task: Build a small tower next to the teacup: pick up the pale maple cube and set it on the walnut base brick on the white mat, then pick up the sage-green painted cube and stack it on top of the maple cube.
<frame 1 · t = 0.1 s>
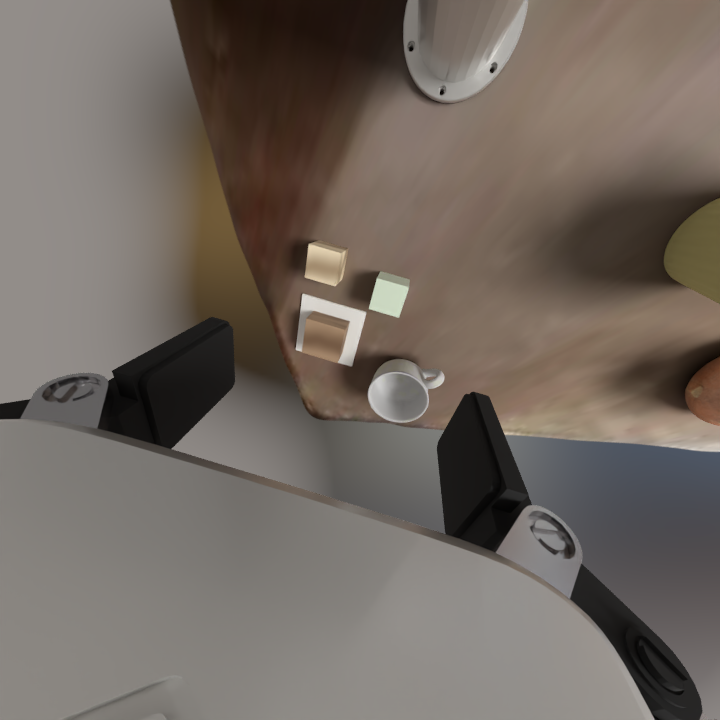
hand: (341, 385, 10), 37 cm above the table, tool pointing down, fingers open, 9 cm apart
sage block: (390, 289, 45), on the table
walnut base brick: (328, 332, 50), resting on white mat
potted cactus: (716, 240, 34), on the table
maple block: (331, 260, 44), on the table
white mat: (329, 331, 51), on the table
teacup: (407, 372, 53), on the table
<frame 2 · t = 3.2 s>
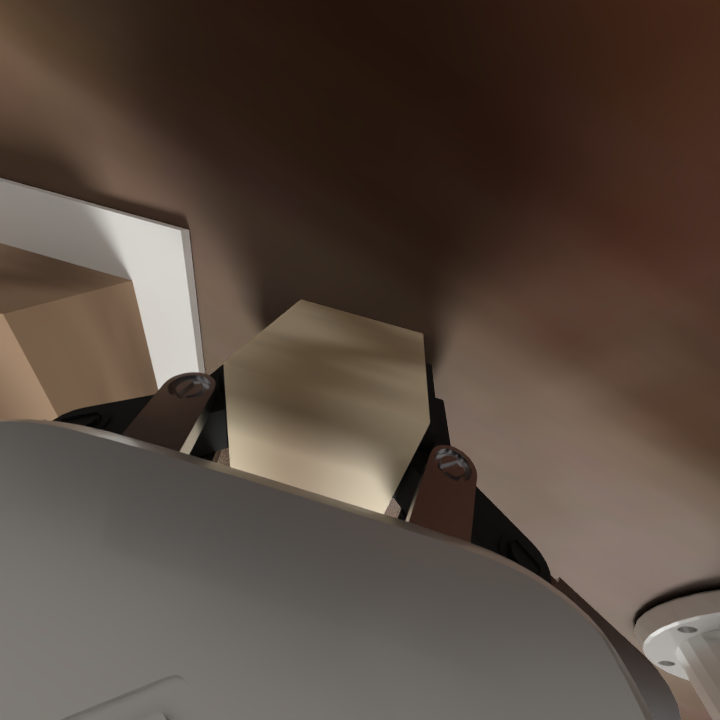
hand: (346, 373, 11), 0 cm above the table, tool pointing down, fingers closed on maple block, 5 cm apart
walnut base brick: (82, 332, 13), resting on white mat
maple block: (349, 367, 12), on the table, touching gripper
white mat: (90, 329, 13), on the table
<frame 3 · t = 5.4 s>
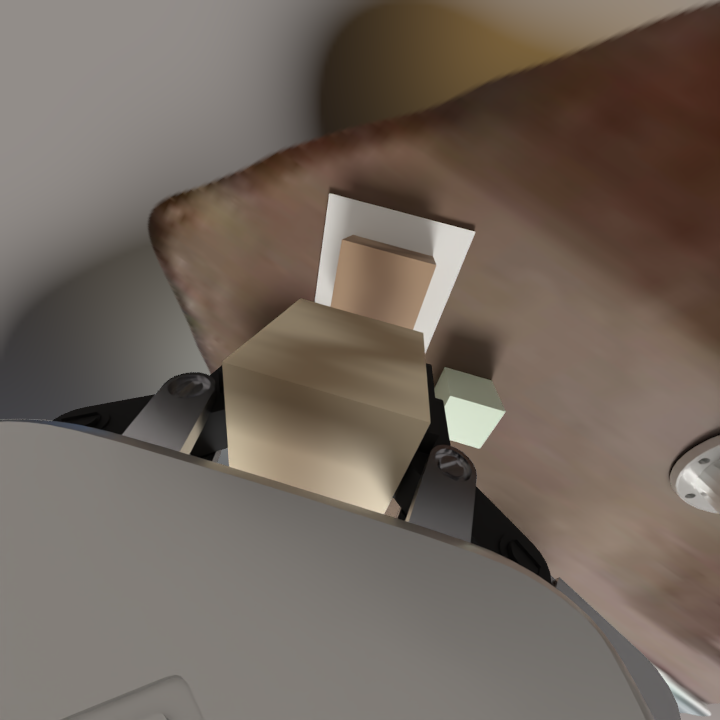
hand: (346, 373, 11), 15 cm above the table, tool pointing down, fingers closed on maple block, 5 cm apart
sage block: (457, 391, 29), on the table
walnut base brick: (381, 285, 24), resting on white mat
maple block: (348, 367, 12), point 15 cm above the table, touching gripper
white mat: (382, 284, 24), on the table
when the fingers open (6 cm above the table, at t = 7.5 s): maple block stays where it is, resting on walnut base brick.
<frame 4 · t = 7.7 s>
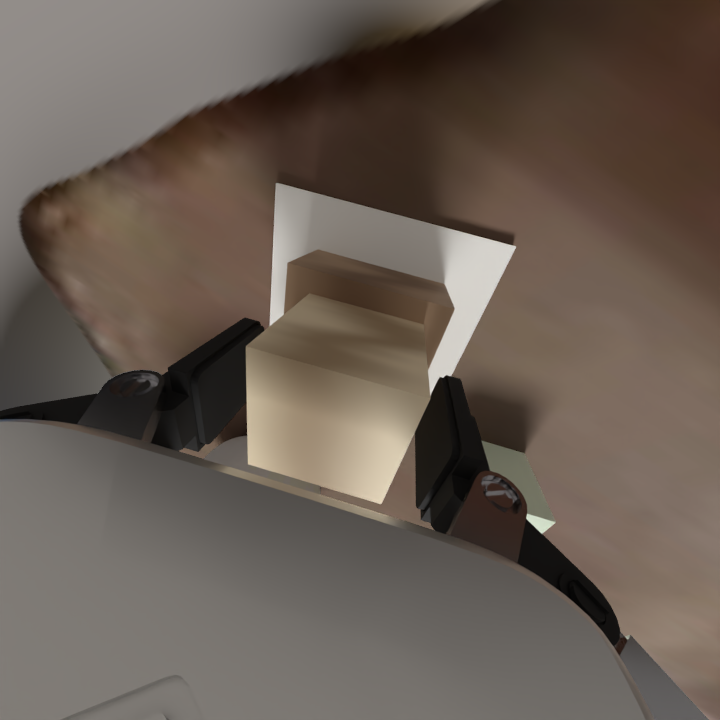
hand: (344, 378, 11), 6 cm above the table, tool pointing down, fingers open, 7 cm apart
sage block: (475, 463, 21), on the table
walnut base brick: (365, 325, 16), resting on white mat, touching maple block
maple block: (354, 358, 12), point 4 cm above the table, touching walnut base brick
white mat: (366, 322, 16), on the table
teacup: (286, 468, 25), on the table
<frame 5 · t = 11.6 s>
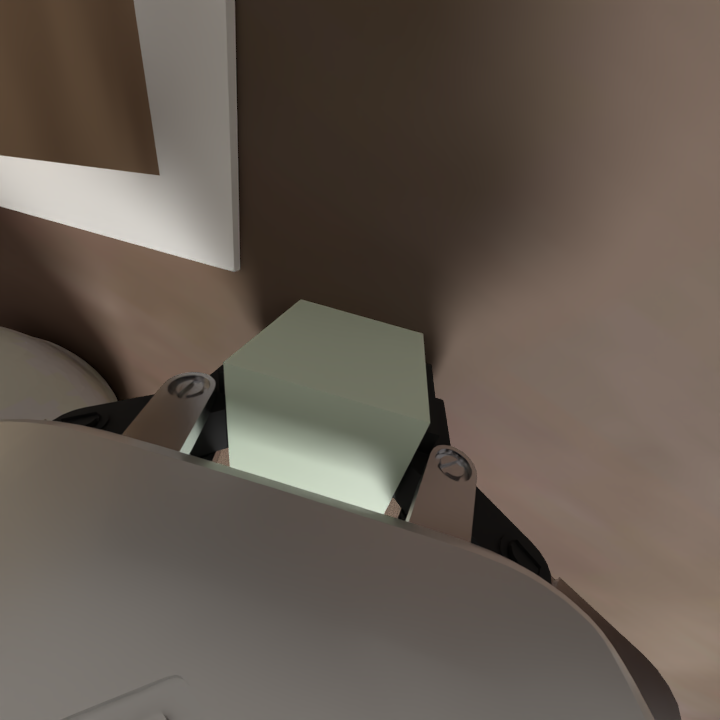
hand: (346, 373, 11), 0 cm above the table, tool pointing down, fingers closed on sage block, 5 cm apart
sage block: (348, 367, 12), on the table, touching gripper
teacup: (95, 402, 17), on the table
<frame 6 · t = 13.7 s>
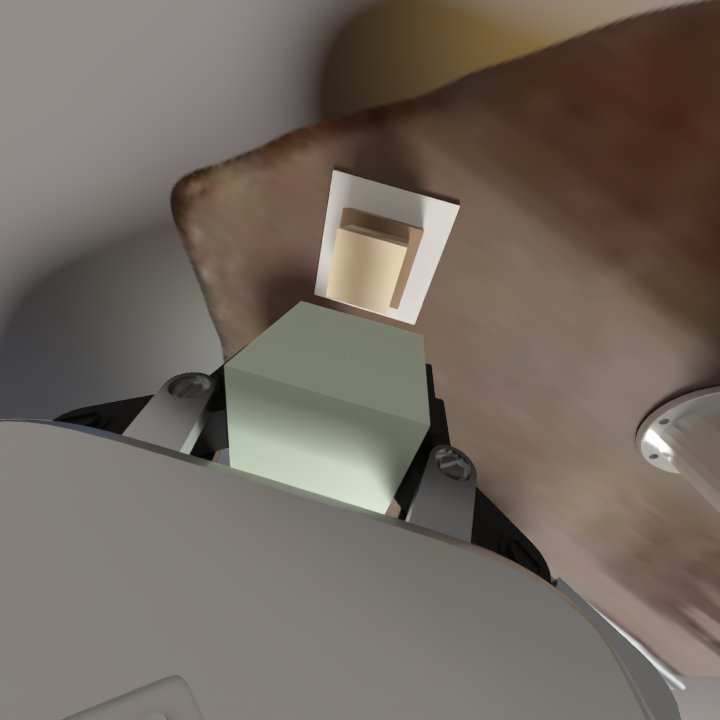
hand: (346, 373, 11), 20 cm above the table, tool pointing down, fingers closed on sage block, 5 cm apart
sage block: (349, 369, 12), point 19 cm above the table, touching gripper
walnut base brick: (378, 255, 27), resting on white mat, touching maple block
maple block: (373, 262, 24), point 4 cm above the table, touching walnut base brick
white mat: (378, 255, 27), on the table
when the fingers open (11 cm above the table, at t = 15.9 s): sage block stays where it is, resting on maple block.
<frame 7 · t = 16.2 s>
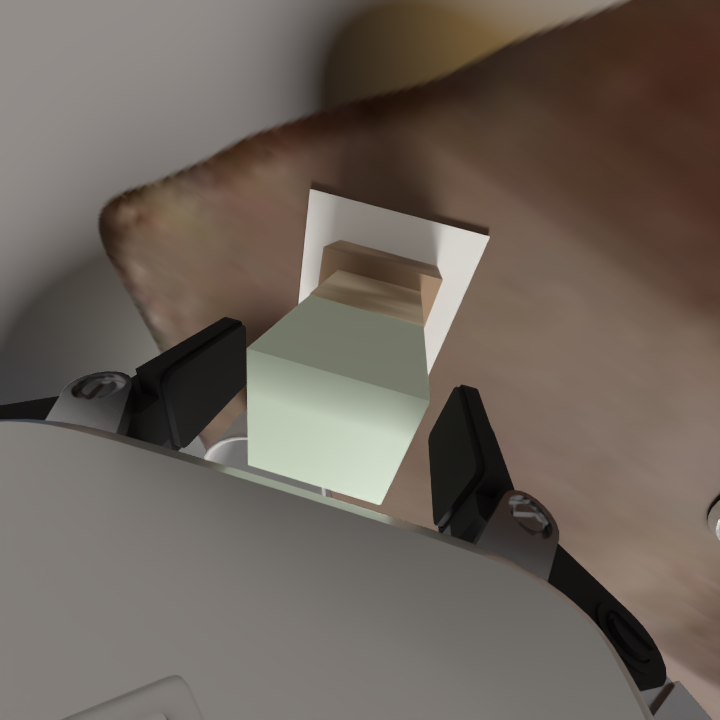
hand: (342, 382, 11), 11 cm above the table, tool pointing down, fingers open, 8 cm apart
sage block: (354, 359, 12), point 9 cm above the table, touching maple block
walnut base brick: (375, 300, 20), resting on white mat, touching maple block
maple block: (369, 319, 17), point 4 cm above the table, touching sage block, walnut base brick
white mat: (376, 298, 20), on the table
teacup: (304, 431, 30), on the table
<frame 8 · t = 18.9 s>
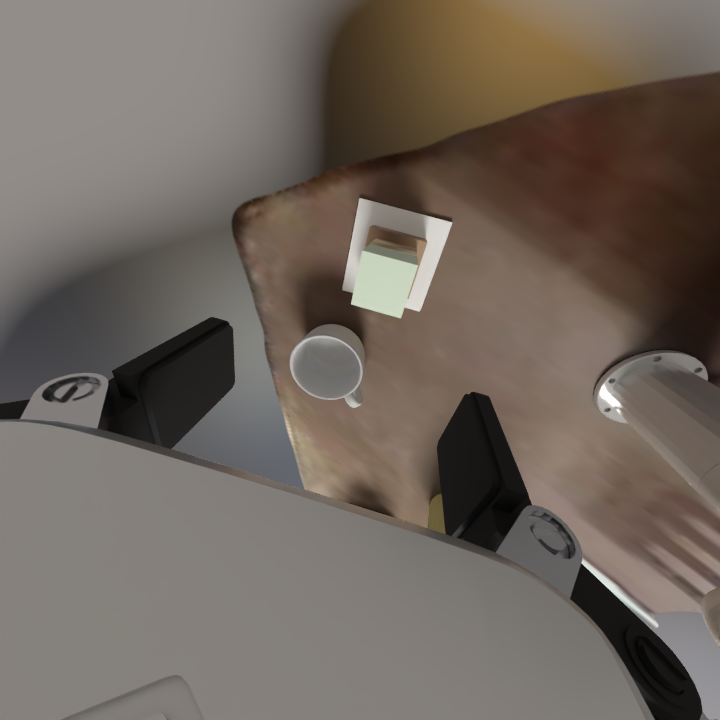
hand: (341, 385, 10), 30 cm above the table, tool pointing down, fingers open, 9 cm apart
sage block: (387, 274, 28), point 9 cm above the table, touching maple block
walnut base brick: (392, 259, 36), resting on white mat, touching maple block
potted cactus: (455, 505, 61), on the table
maple block: (390, 264, 33), point 4 cm above the table, touching sage block, walnut base brick
white mat: (392, 258, 36), on the table
teacup: (342, 353, 45), on the table
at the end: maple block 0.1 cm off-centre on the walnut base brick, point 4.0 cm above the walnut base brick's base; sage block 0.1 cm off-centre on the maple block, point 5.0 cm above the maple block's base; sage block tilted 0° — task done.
